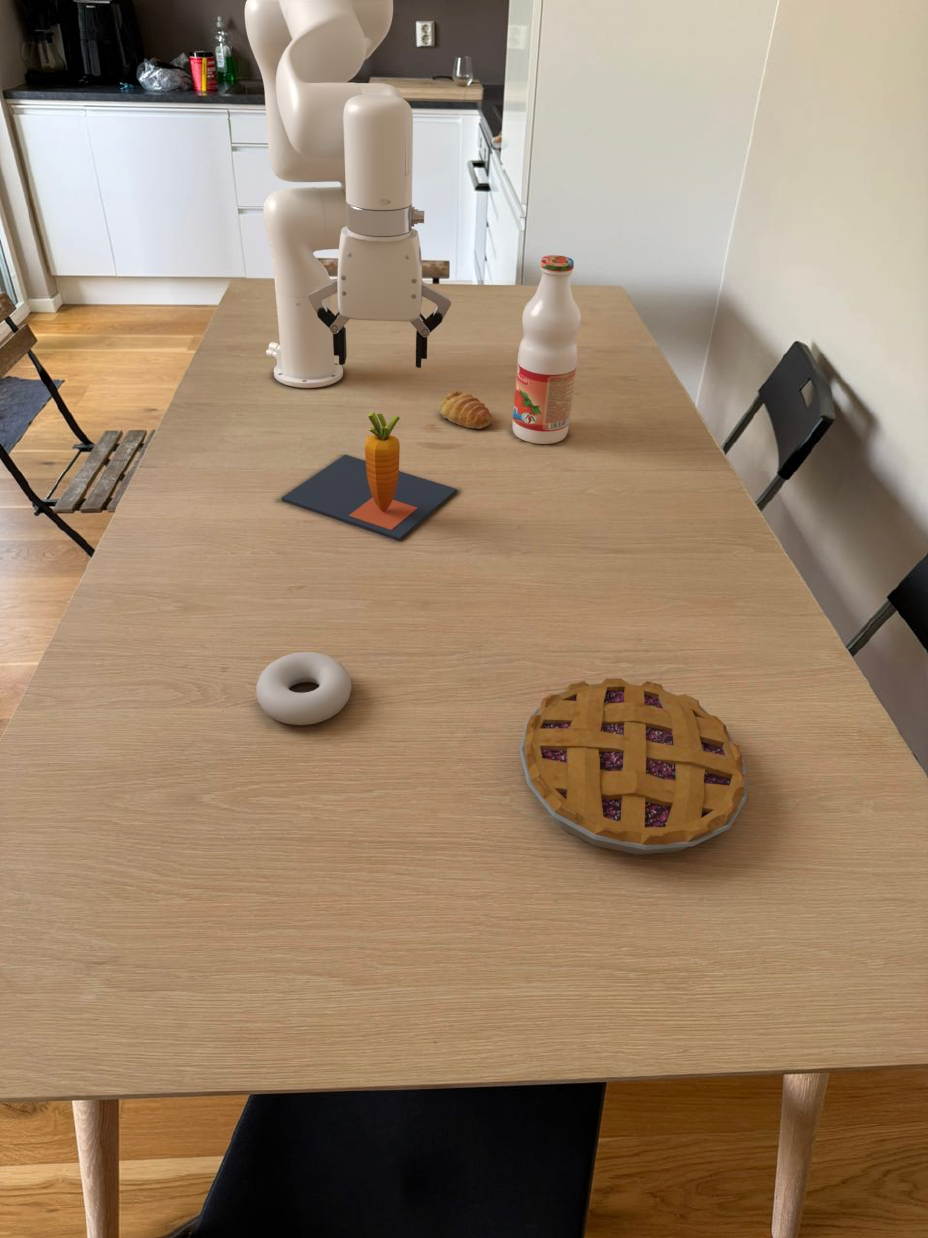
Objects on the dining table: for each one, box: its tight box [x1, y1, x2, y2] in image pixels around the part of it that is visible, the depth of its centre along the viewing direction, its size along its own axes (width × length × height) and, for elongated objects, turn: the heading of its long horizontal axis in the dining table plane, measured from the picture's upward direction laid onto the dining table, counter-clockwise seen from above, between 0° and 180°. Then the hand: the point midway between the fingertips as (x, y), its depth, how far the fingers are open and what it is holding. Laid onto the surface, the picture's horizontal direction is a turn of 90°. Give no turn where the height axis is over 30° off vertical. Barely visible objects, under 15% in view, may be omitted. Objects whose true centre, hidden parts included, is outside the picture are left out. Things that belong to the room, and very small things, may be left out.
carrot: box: [364, 411, 401, 512], centre depth 121 cm, size 5×5×15 cm
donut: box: [255, 651, 353, 726], centre depth 94 cm, size 10×4×10 cm
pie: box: [519, 677, 747, 856], centre depth 86 cm, size 22×22×5 cm
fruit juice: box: [511, 254, 582, 445], centre depth 140 cm, size 9×9×28 cm
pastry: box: [438, 390, 493, 430], centre depth 150 cm, size 9×7×4 cm
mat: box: [280, 454, 458, 542], centre depth 130 cm, size 20×16×1 cm
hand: (380, 362), depth 113 cm, fingers open, 9 cm apart
